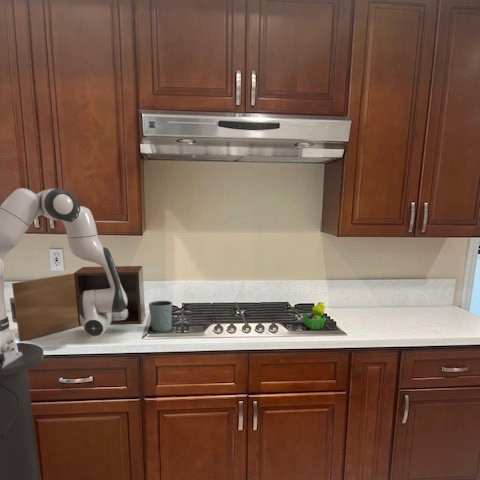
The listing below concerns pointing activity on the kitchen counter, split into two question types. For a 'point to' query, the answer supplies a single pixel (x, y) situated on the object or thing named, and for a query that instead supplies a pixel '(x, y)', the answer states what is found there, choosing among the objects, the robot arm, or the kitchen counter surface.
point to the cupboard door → (44, 306)
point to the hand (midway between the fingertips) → (106, 310)
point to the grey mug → (161, 315)
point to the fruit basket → (315, 317)
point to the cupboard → (98, 280)
